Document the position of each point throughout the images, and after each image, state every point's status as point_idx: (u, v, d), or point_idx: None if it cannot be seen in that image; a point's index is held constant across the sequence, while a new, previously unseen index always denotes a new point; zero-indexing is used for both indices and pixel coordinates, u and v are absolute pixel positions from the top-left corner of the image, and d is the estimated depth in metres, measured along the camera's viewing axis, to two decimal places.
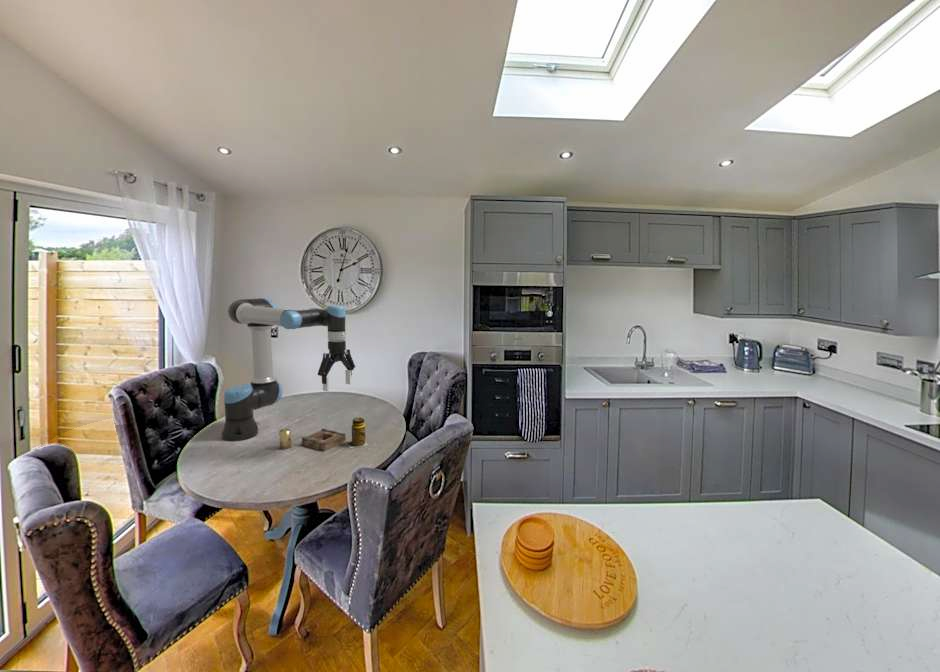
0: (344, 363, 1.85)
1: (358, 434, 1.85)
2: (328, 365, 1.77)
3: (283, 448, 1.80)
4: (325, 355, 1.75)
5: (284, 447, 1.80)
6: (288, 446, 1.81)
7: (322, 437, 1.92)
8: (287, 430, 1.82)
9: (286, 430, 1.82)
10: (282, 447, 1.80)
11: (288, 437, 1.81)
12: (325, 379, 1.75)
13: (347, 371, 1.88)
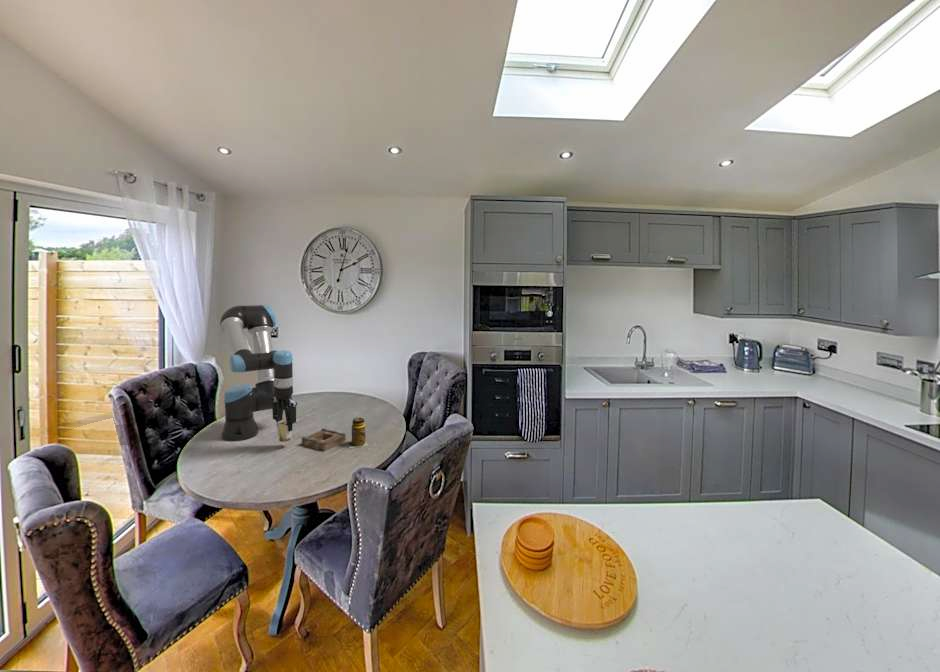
0: None
1: (358, 434, 1.85)
2: None
3: (282, 440, 1.81)
4: None
5: (283, 440, 1.80)
6: None
7: (322, 437, 1.92)
8: (286, 422, 1.82)
9: (285, 422, 1.82)
10: (281, 439, 1.80)
11: None
12: None
13: None
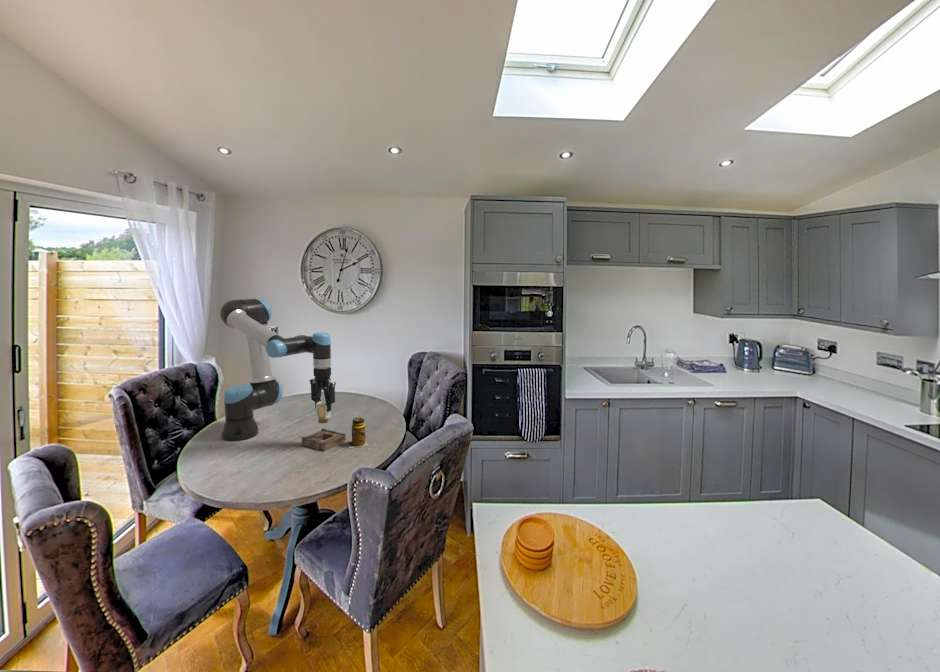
0: None
1: (358, 434, 1.85)
2: None
3: (321, 422, 1.85)
4: None
5: (322, 421, 1.85)
6: (326, 420, 1.86)
7: (322, 437, 1.92)
8: None
9: (324, 404, 1.86)
10: (320, 421, 1.85)
11: None
12: None
13: None
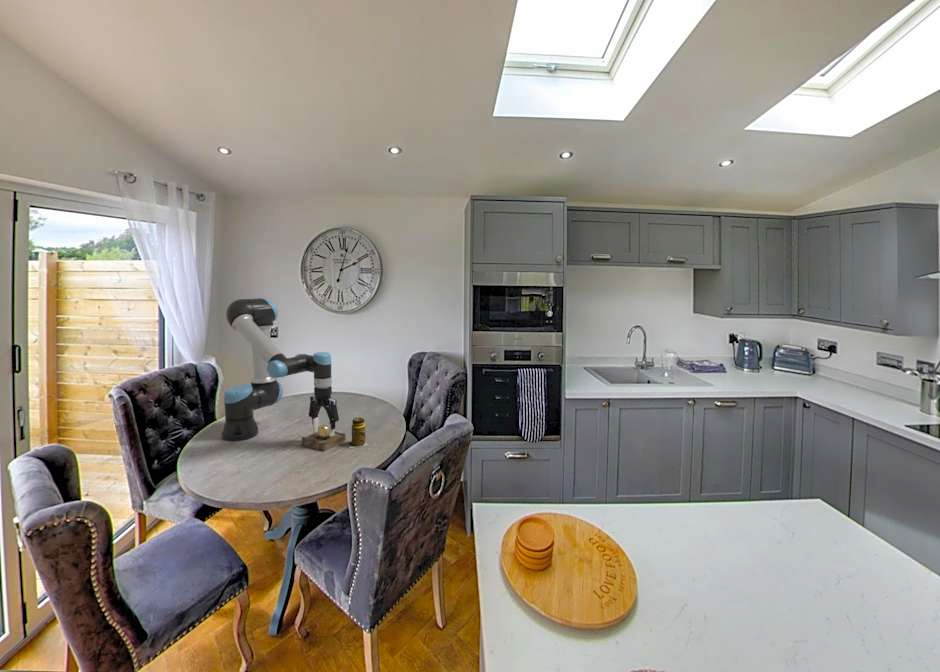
0: None
1: (358, 434, 1.85)
2: None
3: None
4: None
5: None
6: None
7: None
8: (325, 426, 1.88)
9: (324, 426, 1.88)
10: None
11: (326, 433, 1.87)
12: None
13: None
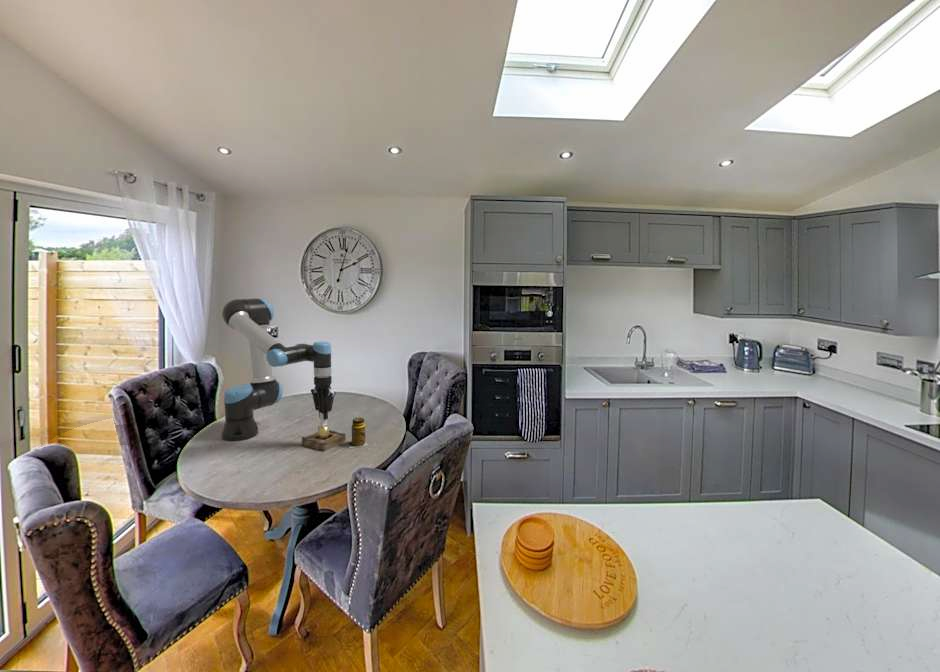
0: None
1: (358, 434, 1.85)
2: None
3: None
4: None
5: None
6: None
7: None
8: (325, 426, 1.88)
9: (324, 426, 1.88)
10: None
11: (326, 433, 1.87)
12: None
13: None
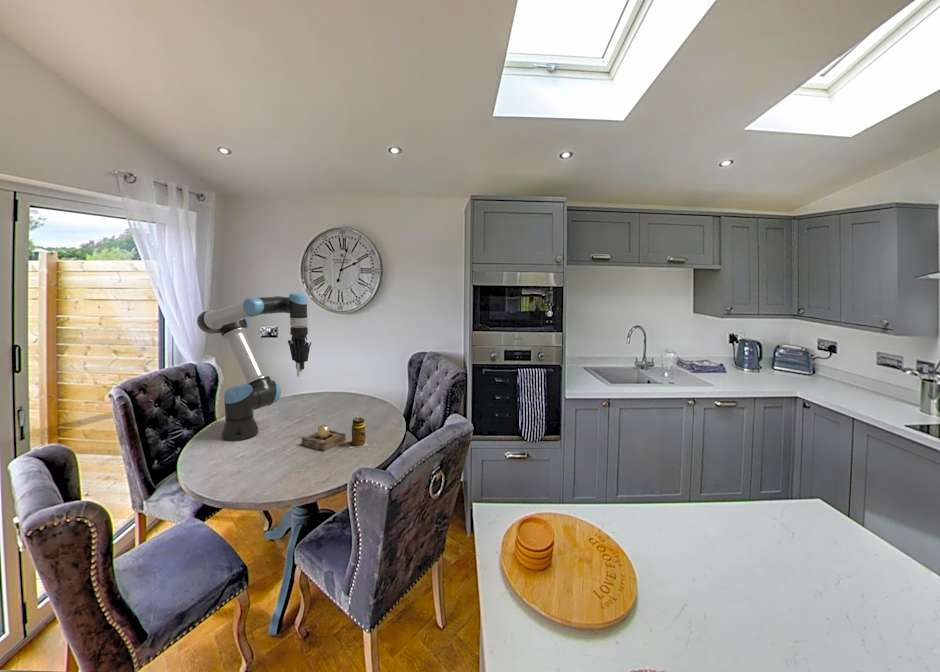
0: None
1: (358, 434, 1.85)
2: None
3: None
4: None
5: None
6: None
7: None
8: (325, 426, 1.88)
9: (324, 426, 1.88)
10: None
11: (326, 433, 1.87)
12: (296, 364, 1.92)
13: None
